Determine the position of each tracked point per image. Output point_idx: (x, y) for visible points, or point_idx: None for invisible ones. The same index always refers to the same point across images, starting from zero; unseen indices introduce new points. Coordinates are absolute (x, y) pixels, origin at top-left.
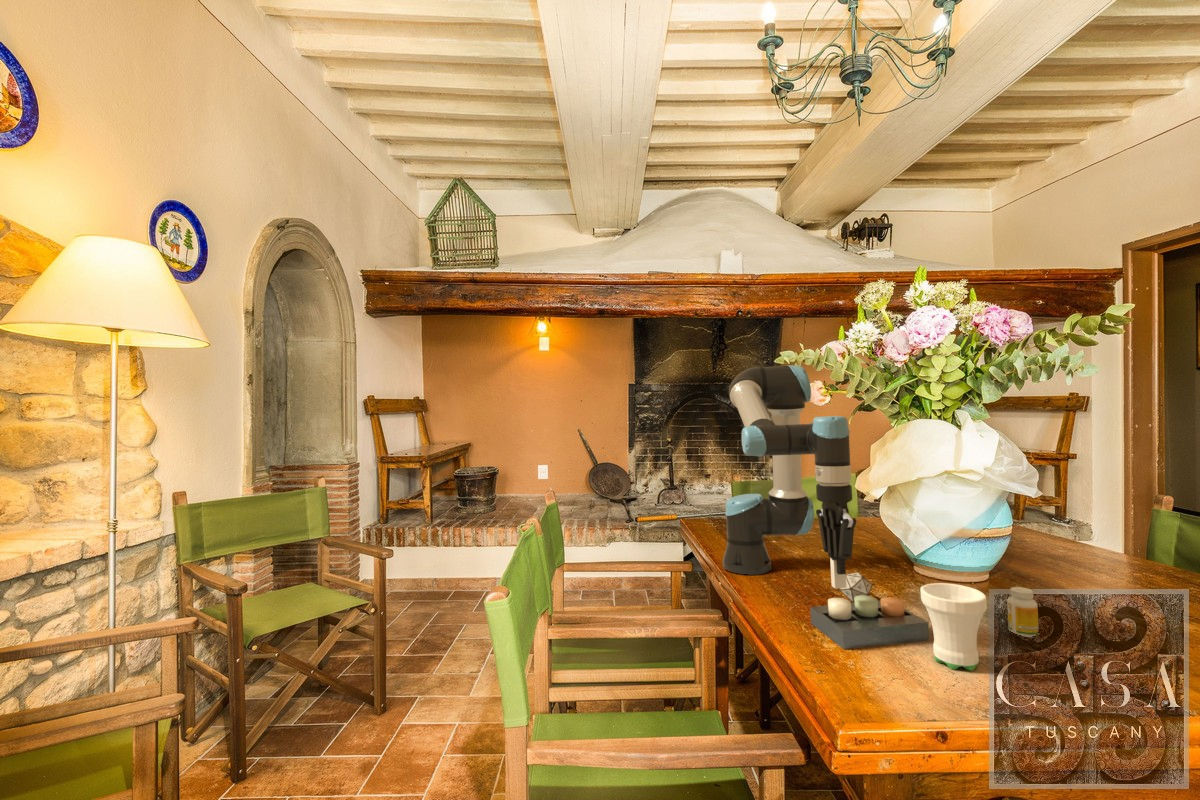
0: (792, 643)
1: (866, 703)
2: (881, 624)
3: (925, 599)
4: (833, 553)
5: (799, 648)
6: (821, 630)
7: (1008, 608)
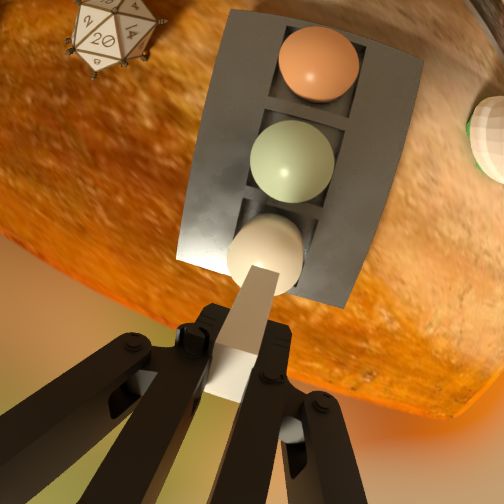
0: None
1: (458, 378)
2: (375, 187)
3: None
4: (197, 393)
5: None
6: None
7: None
